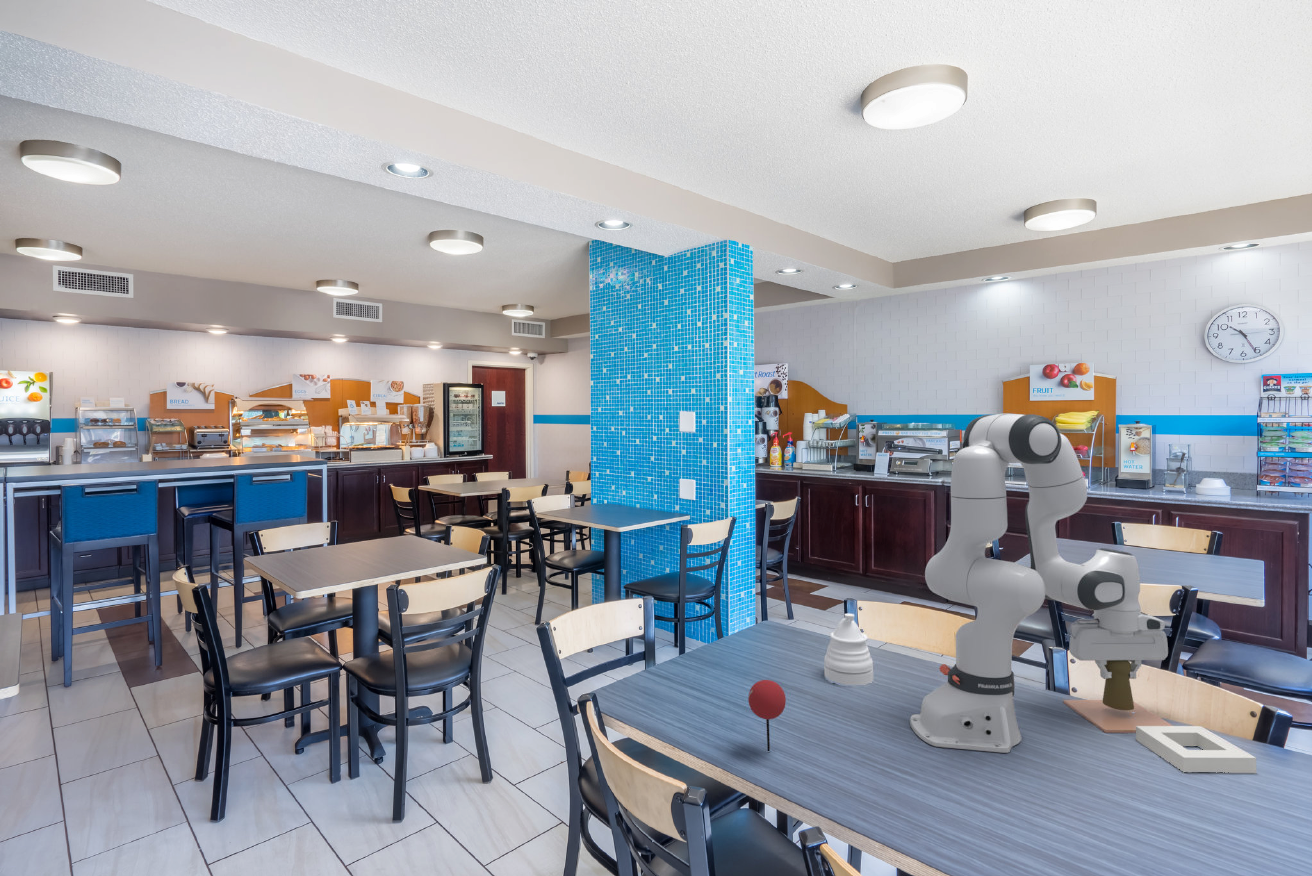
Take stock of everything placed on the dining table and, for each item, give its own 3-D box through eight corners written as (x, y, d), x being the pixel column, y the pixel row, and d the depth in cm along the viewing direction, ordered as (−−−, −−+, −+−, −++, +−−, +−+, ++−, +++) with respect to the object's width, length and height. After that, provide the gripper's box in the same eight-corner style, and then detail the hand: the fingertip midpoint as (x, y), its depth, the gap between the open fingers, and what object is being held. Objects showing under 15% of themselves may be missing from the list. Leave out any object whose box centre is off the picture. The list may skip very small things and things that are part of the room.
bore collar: (1184, 772, 124) (1183, 757, 124) (1136, 740, 137) (1135, 726, 137) (1256, 773, 123) (1256, 757, 123) (1200, 740, 137) (1200, 726, 137)
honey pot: (880, 687, 169) (878, 619, 169) (831, 687, 169) (829, 619, 169) (865, 669, 182) (863, 606, 182) (819, 670, 182) (818, 606, 182)
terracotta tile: (1105, 732, 141) (1105, 730, 141) (1063, 702, 157) (1062, 699, 157) (1180, 732, 140) (1180, 730, 140) (1130, 702, 156) (1130, 699, 156)
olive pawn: (1139, 711, 145) (1138, 663, 145) (1109, 709, 146) (1109, 661, 146) (1126, 700, 151) (1125, 653, 151) (1097, 698, 152) (1096, 652, 152)
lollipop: (763, 739, 141) (762, 671, 141) (793, 751, 136) (792, 680, 136) (742, 752, 136) (741, 681, 136) (772, 764, 130) (770, 691, 130)
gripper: (1079, 623, 146) (1080, 683, 146) (1172, 622, 145) (1173, 683, 145) (1062, 615, 152) (1064, 673, 152) (1152, 614, 151) (1153, 672, 151)
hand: (1118, 678), depth 148 cm, fingers closed on olive pawn, 4 cm apart
